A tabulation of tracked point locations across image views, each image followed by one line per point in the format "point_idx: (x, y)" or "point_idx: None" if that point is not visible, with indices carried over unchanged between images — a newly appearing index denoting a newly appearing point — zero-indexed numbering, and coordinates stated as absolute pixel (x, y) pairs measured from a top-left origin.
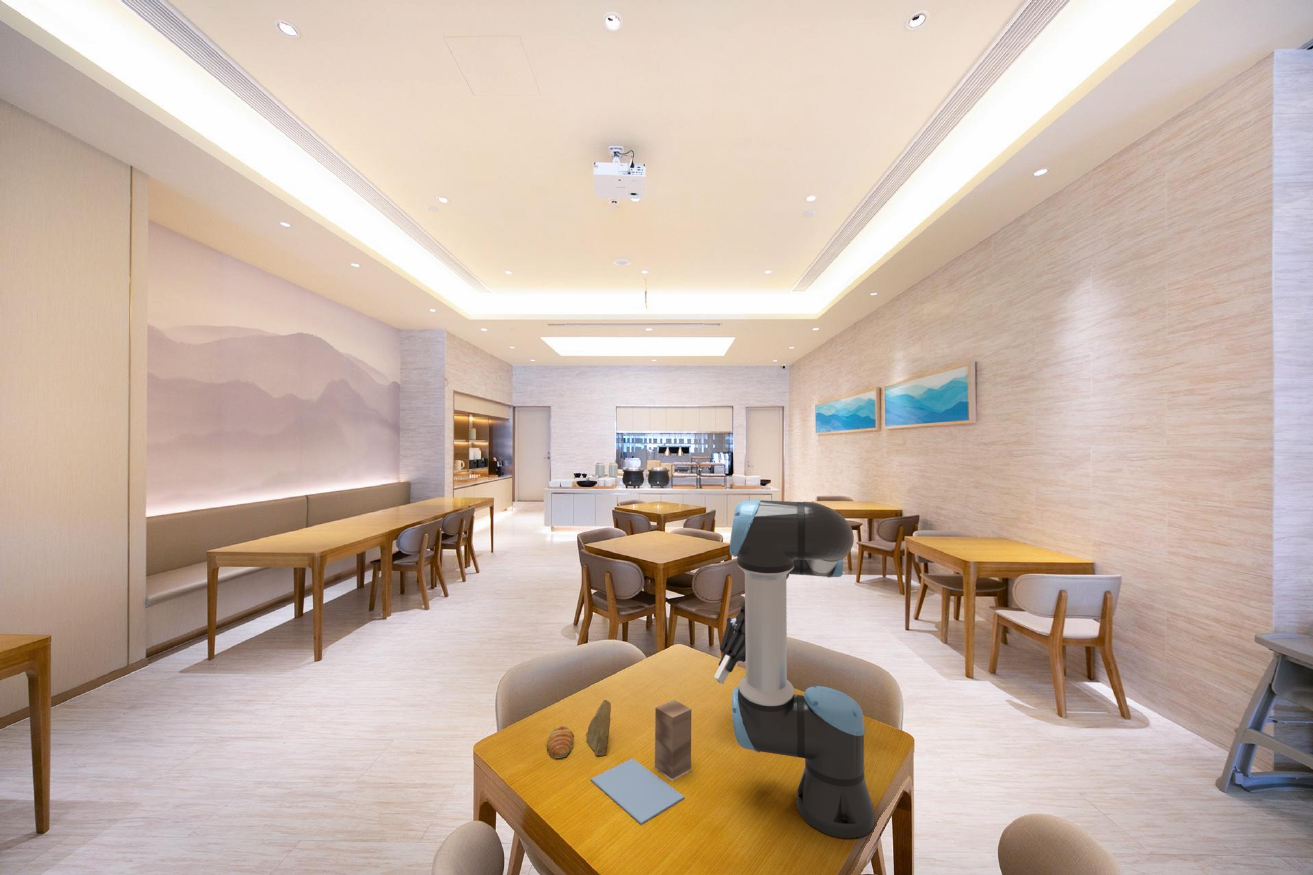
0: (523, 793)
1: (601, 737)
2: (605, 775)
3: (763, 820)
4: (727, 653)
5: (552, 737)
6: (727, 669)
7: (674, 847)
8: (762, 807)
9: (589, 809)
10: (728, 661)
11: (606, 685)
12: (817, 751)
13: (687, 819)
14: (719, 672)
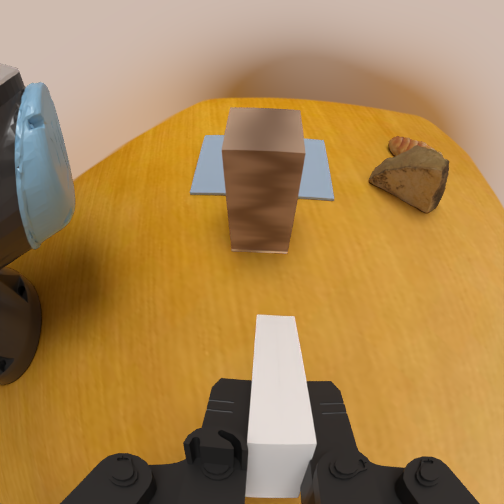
0: (343, 103)
1: (384, 161)
2: (318, 153)
3: (72, 241)
4: (314, 473)
5: (421, 141)
6: (230, 380)
7: (152, 143)
8: (79, 262)
9: None
10: (248, 417)
11: None
12: None
13: (162, 173)
14: (271, 336)
